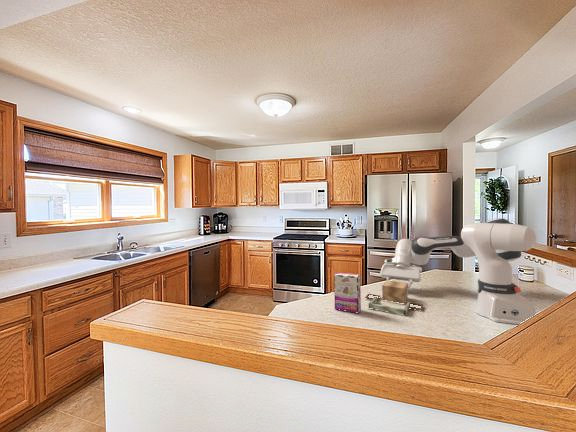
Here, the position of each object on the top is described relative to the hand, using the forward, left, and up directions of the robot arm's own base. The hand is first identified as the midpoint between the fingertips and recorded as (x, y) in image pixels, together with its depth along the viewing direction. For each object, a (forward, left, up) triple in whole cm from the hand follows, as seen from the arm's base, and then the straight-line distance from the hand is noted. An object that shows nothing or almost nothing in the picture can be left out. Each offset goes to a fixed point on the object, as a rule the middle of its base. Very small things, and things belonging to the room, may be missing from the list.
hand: (398, 286), depth 144 cm
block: (0, +9, -4) cm, 10 cm away
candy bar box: (+16, +33, -5) cm, 37 cm away
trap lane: (0, +19, -4) cm, 19 cm away
